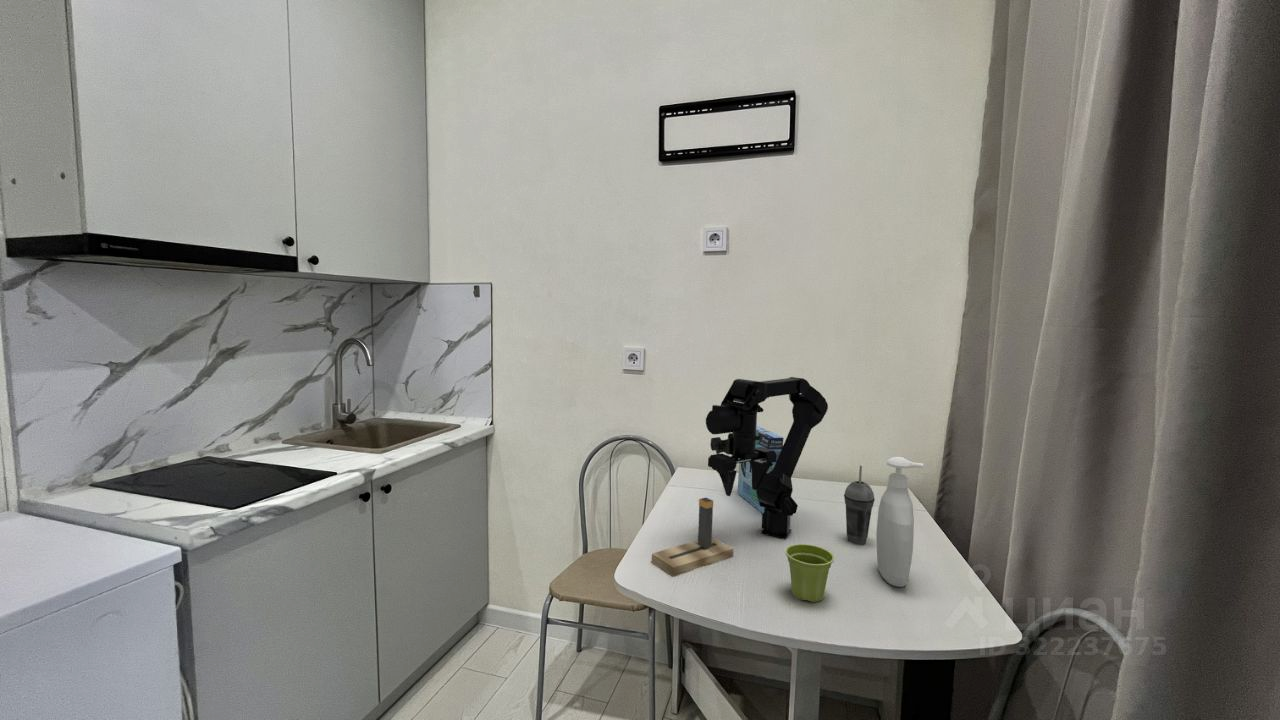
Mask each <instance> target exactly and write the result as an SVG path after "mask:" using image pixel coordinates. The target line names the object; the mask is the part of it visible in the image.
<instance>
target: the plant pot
mask: <svg viewBox="0 0 1280 720" xmlns="http://www.w3.org/2000/svg"><path fill="white" fill-rule="evenodd" d="M784 552H785V556H786V557H787V561H788V564H789V573H790V581H791V592H792V594H793V595H794V596H795V597H796V598H797V599H800V601H801V600H802V601H809V602H810V603H815V602H820V601H822V600H823V599H824V598H825V597H824V596H825V591H826V588H827V587H826V586H827V582H828V575H829V571H830V568H831V567H832V564H833V563H834V561H835V556H834V555H833V553H832V552H831V551H829V550H828V549H826V548H823V547H821V546H817V545H814V544H806V543H796V544H791V545H789V546H787V547H786V548H785V551H784Z"/></svg>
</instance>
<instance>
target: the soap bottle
mask: <svg viewBox="0 0 1280 720" xmlns="http://www.w3.org/2000/svg"><path fill="white" fill-rule="evenodd" d="M886 465H887V466H889V467H892V468H895V472H892V473H890V474H889V475H888V481H887V482H888V484H887V486H886V489H885V491H884V492H883V494H882V495H881V497H880V502H879V505H878V510H877V520H876V534H875V536H876V560H877V568H878V571H879V573H880V575H881V577H882V578H883V579H884V580H885V581H886V582H887V583H888V584H889V585H891V586H893V587H898V588H899V587H900V588H902V587H904V586H906V585H907V583H908V581H909V578H910V573H911V572H910V571H911V565H912V562H913V561H912V560H913V553H914V538H915V537H914V534H915V533H914V529H915V527H914V526H915V524H914V523H915V516H914V507H913V505H914V504H913V502H912V499H911V497H910V494H909V490H908V481H909V480H908V477H907V476H906V475H905V474H904V473H902V469H912V468H918V469H922V468H923V467H924V465H925V464H924V463H922V462H913V461H911V460H908V459H907V458H905V457H902V456H893V457H891V458H889V459H888V460H887V461H886Z"/></svg>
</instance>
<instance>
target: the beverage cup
mask: <svg viewBox="0 0 1280 720" xmlns="http://www.w3.org/2000/svg"><path fill="white" fill-rule="evenodd" d="M862 469H863V466H862V465H859V473H858V474H859V475H858V480H855V481H853V482H850V483H849V484H848V485H847V486H846V488H845V490H844V494H843V497H844V504H845V523H846V524H845V525H846V528H845V529H846V539H847V542H848V543H850V544H852V545H855V546H856V545H857V546H864V545H867V539H868V535H869V531H870V523H871V517H872V509H873V507H874V504H875V501H876V498H875V494H874V491H873V488H872V487H871V486H870V485H869V484H868V483H866V482H864V481H862V472H863V471H862Z"/></svg>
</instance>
